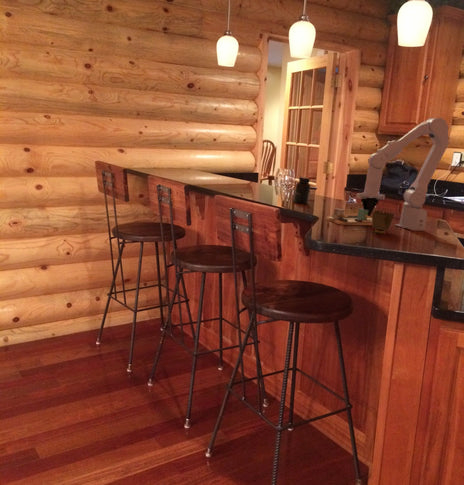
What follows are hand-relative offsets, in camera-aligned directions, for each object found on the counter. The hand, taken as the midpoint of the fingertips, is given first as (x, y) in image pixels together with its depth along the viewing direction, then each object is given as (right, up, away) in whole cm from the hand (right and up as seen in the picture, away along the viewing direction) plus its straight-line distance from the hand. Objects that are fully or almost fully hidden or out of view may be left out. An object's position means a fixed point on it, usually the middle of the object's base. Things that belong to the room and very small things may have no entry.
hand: (366, 216), depth 210 cm
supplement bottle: (-22, +8, +35) cm, 42 cm away
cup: (-1, -8, -22) cm, 23 cm away
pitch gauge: (-5, -2, -3) cm, 6 cm away
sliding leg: (-2, -2, -3) cm, 3 cm away
